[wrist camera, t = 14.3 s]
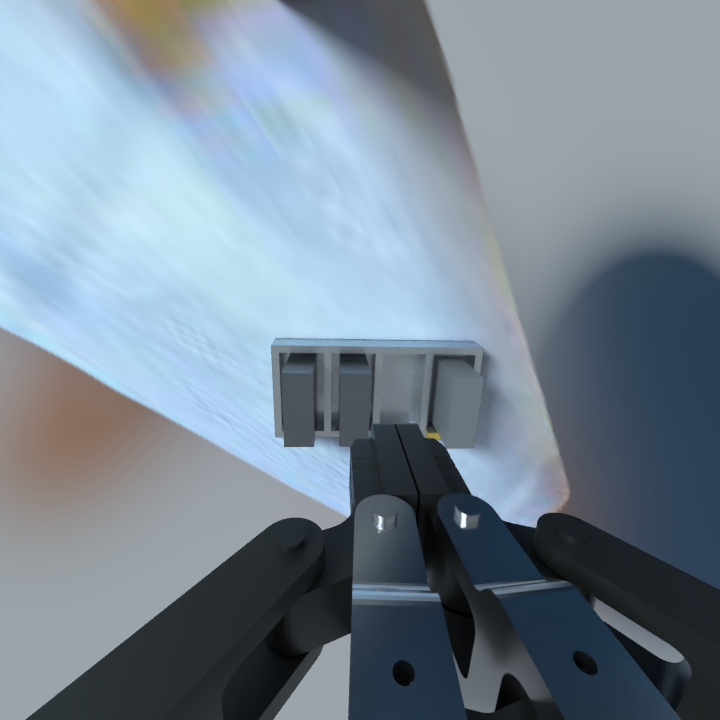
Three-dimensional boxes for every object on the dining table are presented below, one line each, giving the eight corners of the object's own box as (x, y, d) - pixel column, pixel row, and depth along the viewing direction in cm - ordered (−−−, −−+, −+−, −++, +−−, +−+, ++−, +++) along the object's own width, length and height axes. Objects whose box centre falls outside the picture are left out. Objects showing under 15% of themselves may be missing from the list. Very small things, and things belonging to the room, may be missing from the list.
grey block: (435, 356, 41) (454, 377, 34) (460, 357, 41) (484, 377, 34) (429, 418, 43) (446, 448, 37) (452, 418, 43) (474, 448, 37)
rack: (279, 424, 43) (268, 459, 36) (275, 338, 39) (262, 357, 32) (462, 423, 44) (486, 457, 37) (473, 341, 41) (502, 360, 34)
